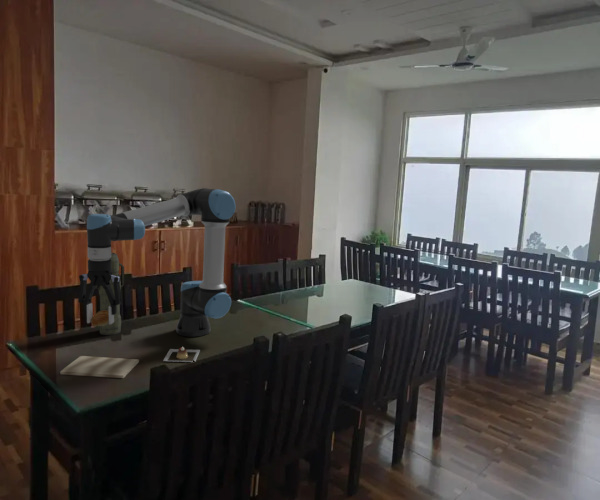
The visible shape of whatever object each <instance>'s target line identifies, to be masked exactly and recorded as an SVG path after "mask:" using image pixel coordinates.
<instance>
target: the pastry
mask: <svg viewBox="0 0 600 500" xmlns="http://www.w3.org/2000/svg"><path fill="white" fill-rule="evenodd" d="M91 321H92V322H91V326H92V327H99V326H106V325H108V324H109V311H107V310H103V311H100V310H99V311H98V312H96V313H95V314H94V315H93V318H92V319H91Z"/></svg>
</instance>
